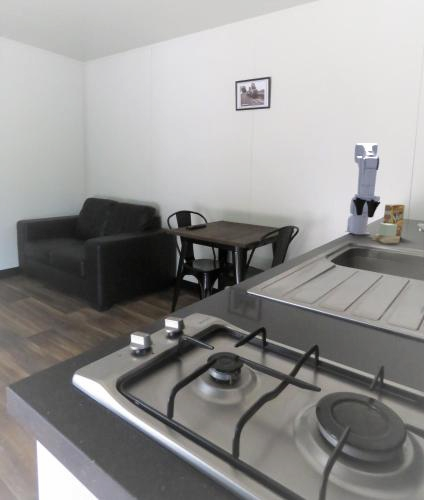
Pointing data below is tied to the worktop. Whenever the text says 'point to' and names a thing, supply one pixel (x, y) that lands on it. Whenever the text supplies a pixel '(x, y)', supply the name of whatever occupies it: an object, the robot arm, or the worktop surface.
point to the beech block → (387, 239)
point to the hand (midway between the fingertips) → (364, 216)
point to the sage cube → (387, 230)
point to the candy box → (394, 216)
